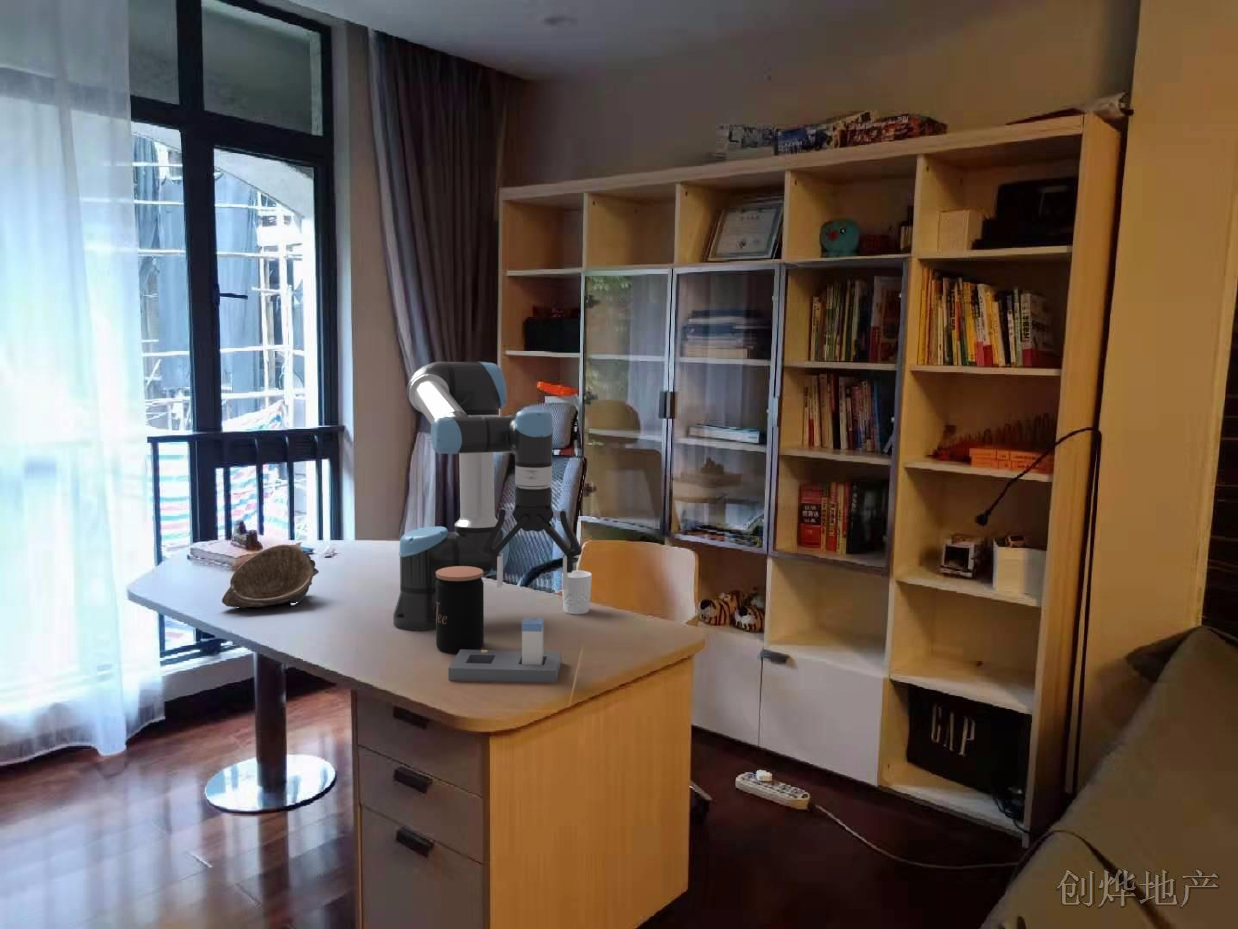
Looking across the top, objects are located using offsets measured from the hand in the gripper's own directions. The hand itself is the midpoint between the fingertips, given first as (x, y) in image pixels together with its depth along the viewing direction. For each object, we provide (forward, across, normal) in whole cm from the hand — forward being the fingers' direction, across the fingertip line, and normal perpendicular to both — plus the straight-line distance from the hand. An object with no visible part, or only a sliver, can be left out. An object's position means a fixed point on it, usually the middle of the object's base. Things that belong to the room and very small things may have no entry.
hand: (532, 587), depth 190 cm
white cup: (+20, +6, +48) cm, 52 cm away
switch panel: (+19, -5, -1) cm, 19 cm away
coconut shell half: (+20, -73, +47) cm, 89 cm away
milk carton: (+18, 0, -1) cm, 18 cm away
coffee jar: (+19, -18, +15) cm, 30 cm away
